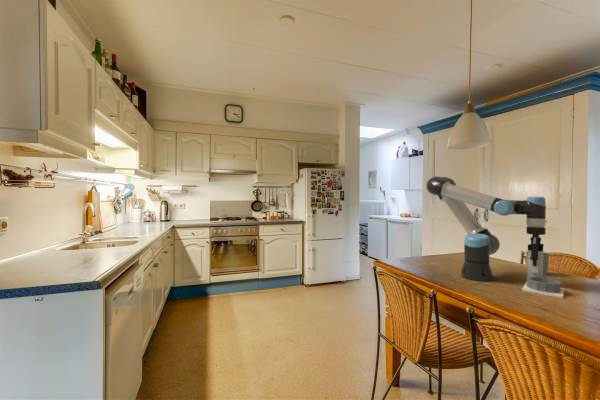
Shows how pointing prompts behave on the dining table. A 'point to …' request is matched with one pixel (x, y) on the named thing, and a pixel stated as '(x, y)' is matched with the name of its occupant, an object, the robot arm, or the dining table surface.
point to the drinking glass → (544, 262)
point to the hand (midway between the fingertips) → (535, 270)
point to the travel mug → (540, 262)
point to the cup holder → (544, 286)
